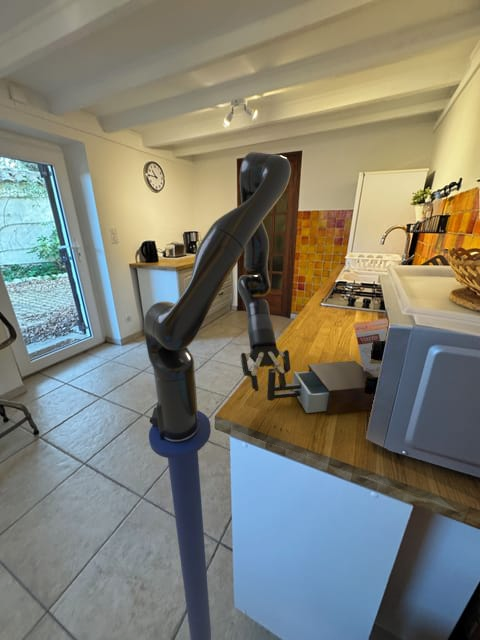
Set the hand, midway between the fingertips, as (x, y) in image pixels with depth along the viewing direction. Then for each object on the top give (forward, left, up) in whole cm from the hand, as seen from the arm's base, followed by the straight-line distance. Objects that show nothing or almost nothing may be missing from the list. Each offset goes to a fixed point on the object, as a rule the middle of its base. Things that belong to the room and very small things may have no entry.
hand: (269, 389), depth 68 cm
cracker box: (+39, +2, -3) cm, 39 cm away
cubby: (+22, +2, -6) cm, 23 cm away
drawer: (+12, +2, -6) cm, 13 cm away
